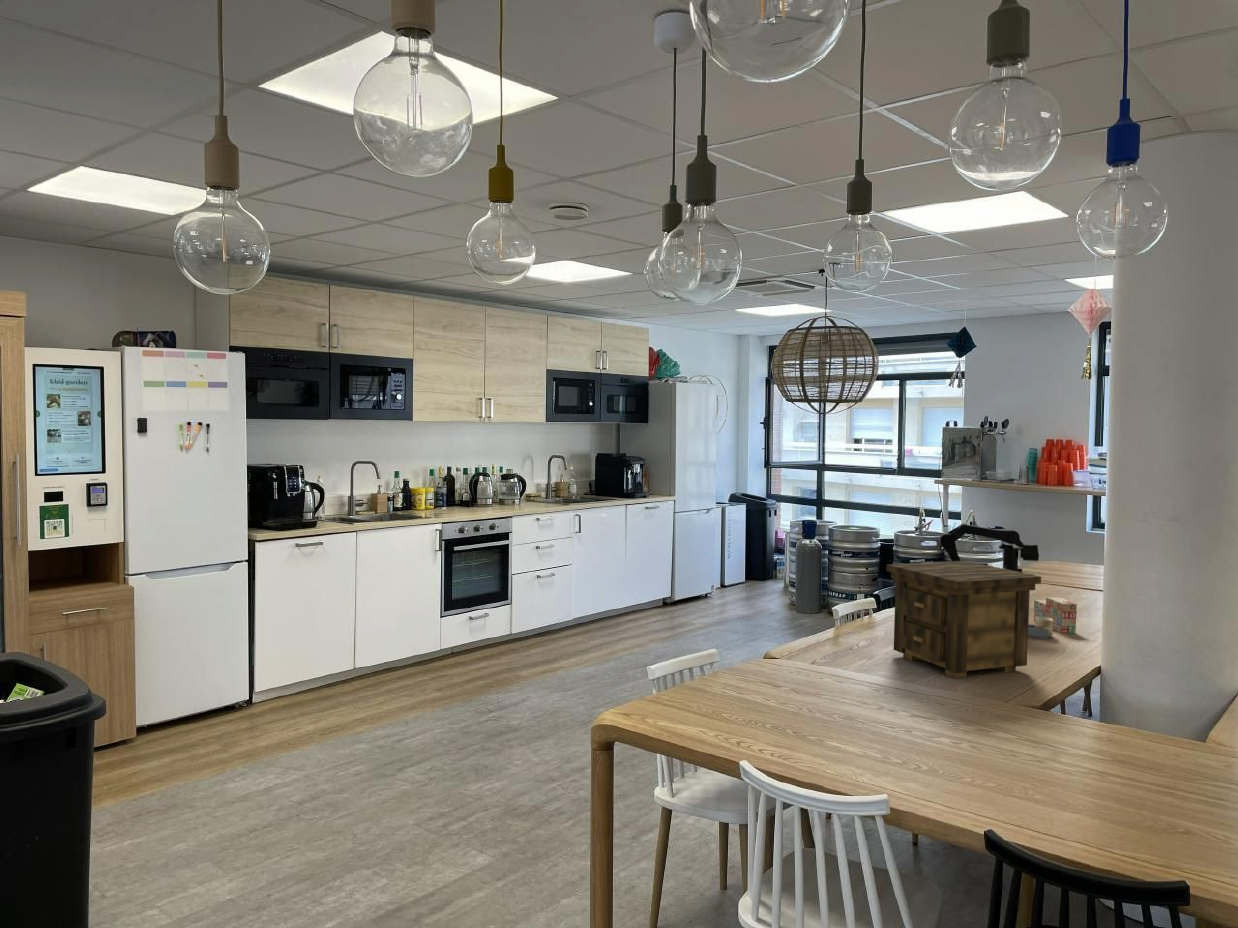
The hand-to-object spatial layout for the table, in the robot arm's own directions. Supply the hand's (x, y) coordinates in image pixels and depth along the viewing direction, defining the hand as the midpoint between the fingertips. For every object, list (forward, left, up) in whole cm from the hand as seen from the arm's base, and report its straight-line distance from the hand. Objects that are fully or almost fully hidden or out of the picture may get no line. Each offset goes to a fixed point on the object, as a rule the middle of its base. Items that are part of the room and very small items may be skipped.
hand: (1009, 597), depth 354 cm
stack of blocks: (+17, +7, -12) cm, 22 cm away
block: (+13, -14, -11) cm, 22 cm away
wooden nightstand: (-17, -73, -12) cm, 76 cm away
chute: (+4, -14, -12) cm, 19 cm away
